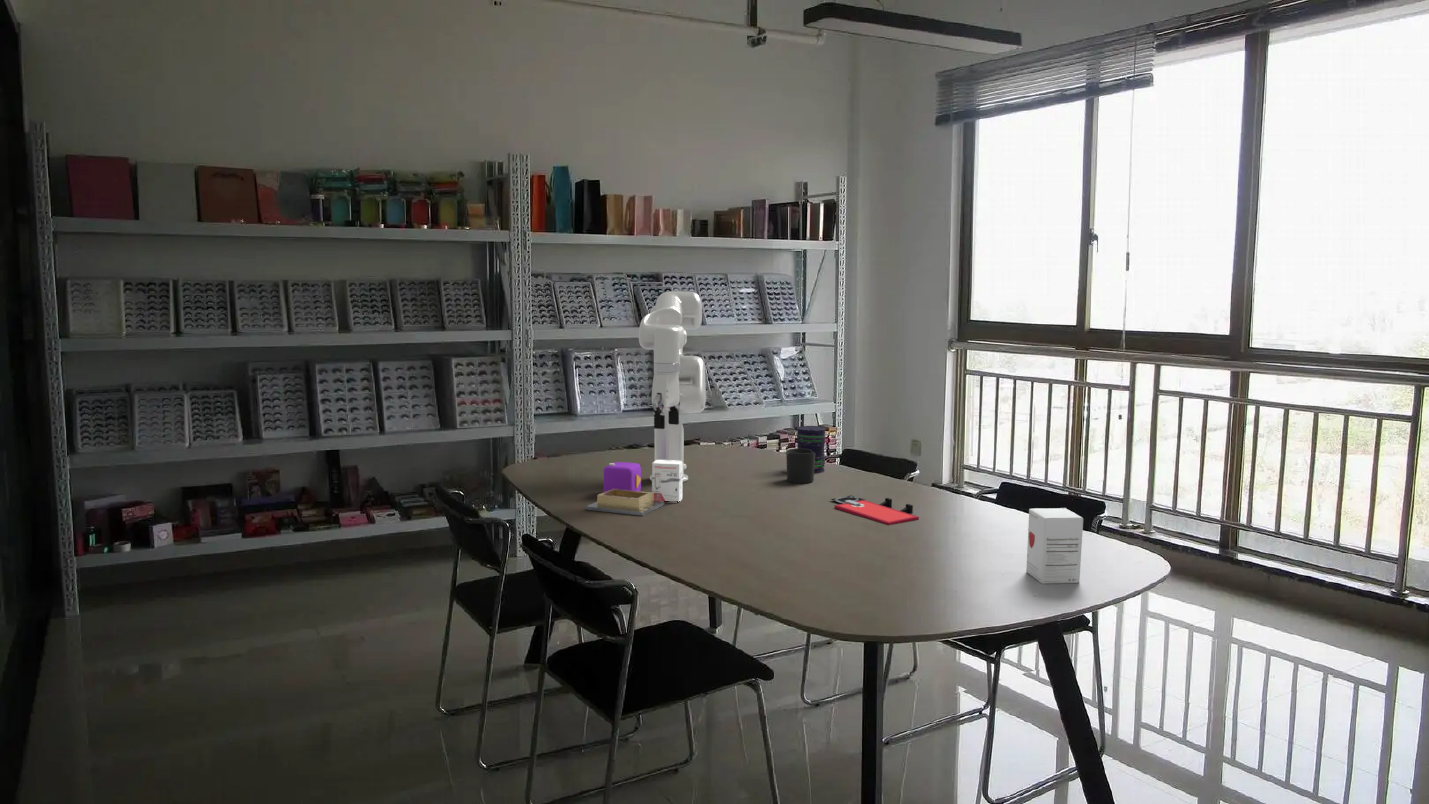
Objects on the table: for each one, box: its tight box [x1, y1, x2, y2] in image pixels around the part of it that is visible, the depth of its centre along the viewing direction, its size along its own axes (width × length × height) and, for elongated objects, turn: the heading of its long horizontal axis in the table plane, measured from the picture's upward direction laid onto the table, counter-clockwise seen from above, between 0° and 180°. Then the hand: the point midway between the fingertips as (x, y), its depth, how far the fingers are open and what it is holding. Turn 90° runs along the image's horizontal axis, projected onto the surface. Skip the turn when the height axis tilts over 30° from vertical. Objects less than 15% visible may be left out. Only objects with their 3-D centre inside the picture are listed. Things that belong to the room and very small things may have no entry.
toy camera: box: [603, 461, 642, 493], centre depth 299 cm, size 11×14×10 cm
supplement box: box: [1025, 507, 1084, 585], centre depth 218 cm, size 9×9×15 cm
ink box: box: [651, 459, 684, 503], centre depth 290 cm, size 9×5×12 cm, turn 81°
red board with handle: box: [830, 495, 920, 526], centre depth 280 cm, size 30×3×15 cm
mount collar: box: [585, 489, 665, 517], centre depth 281 cm, size 14×18×4 cm
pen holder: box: [785, 448, 815, 485], centre depth 319 cm, size 9×9×10 cm
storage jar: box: [796, 425, 826, 474], centre depth 336 cm, size 10×10×15 cm
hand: (666, 426), depth 288 cm, fingers open, 9 cm apart
